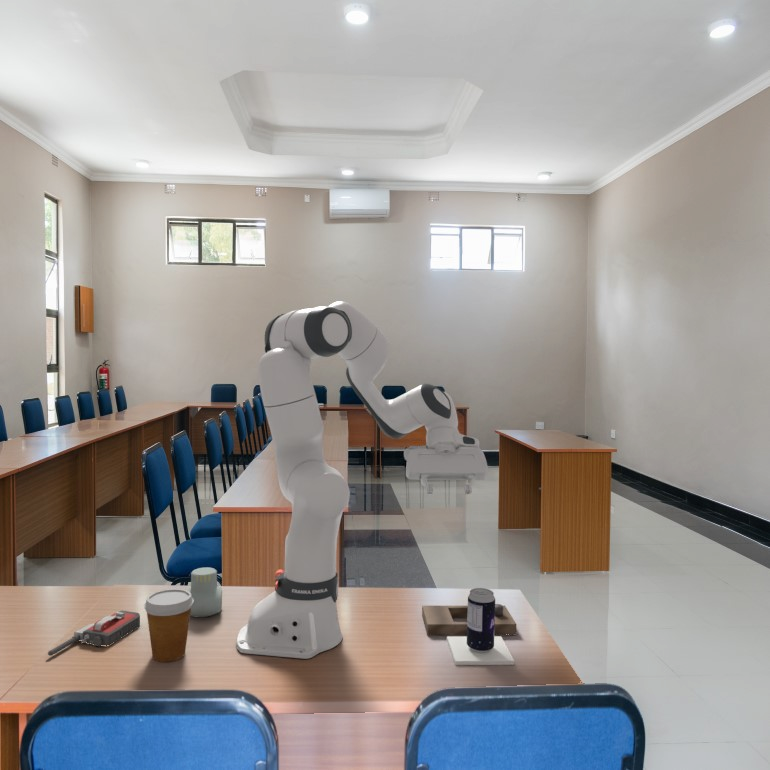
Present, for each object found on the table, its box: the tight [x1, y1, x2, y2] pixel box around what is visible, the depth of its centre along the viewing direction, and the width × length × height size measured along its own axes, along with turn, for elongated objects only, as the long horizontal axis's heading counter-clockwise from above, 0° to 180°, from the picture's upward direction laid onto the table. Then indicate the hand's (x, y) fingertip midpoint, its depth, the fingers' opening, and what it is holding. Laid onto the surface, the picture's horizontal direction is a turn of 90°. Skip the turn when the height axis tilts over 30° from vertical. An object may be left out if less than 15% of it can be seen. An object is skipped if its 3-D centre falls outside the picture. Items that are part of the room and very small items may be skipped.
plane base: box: [421, 603, 517, 636], centre depth 142 cm, size 20×10×4 cm, turn 93°
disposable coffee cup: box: [143, 588, 194, 663], centre depth 125 cm, size 10×10×12 cm
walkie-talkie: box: [47, 610, 141, 657], centre depth 131 cm, size 9×4×20 cm
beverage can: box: [466, 587, 496, 653], centre depth 129 cm, size 6×6×12 cm
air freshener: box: [186, 566, 223, 618], centre depth 146 cm, size 11×8×10 cm
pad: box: [446, 635, 515, 666], centre depth 129 cm, size 12×11×1 cm
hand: (449, 492), depth 148 cm, fingers open, 8 cm apart
